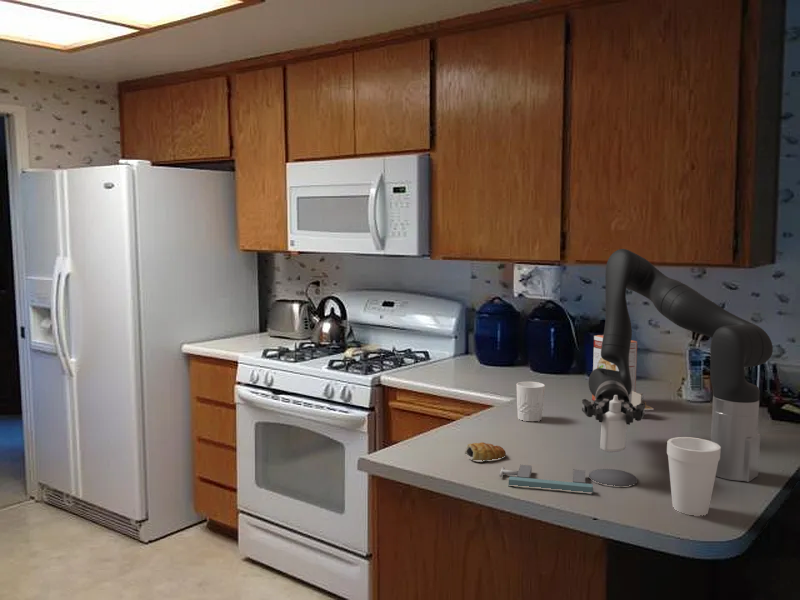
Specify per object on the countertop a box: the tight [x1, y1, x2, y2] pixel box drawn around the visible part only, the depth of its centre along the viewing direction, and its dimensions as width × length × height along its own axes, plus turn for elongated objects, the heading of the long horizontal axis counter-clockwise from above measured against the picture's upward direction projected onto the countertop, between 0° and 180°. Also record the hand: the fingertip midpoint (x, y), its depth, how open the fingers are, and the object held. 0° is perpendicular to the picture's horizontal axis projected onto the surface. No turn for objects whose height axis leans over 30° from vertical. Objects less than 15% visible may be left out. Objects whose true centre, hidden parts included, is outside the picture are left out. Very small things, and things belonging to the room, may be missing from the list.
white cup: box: [515, 381, 546, 422], centre depth 206 cm, size 8×8×10 cm
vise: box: [498, 464, 594, 494], centre depth 155 cm, size 19×10×2 cm, turn 76°
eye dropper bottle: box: [599, 395, 628, 453], centre depth 156 cm, size 4×6×12 cm
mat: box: [588, 468, 638, 486], centre depth 157 cm, size 10×10×1 cm
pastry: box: [464, 441, 507, 461], centre depth 171 cm, size 9×7×4 cm
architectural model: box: [631, 391, 654, 411], centre depth 210 cm, size 3×7×7 cm, turn 9°
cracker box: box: [591, 334, 638, 403], centre depth 223 cm, size 14×6×21 cm, turn 21°
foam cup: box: [666, 436, 721, 517], centre depth 140 cm, size 10×9×13 cm
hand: (614, 418), depth 153 cm, fingers closed on eye dropper bottle, 5 cm apart
